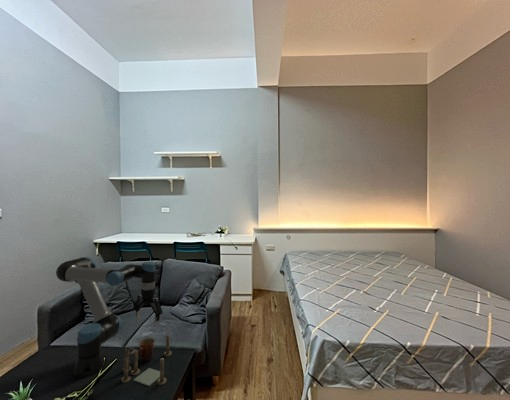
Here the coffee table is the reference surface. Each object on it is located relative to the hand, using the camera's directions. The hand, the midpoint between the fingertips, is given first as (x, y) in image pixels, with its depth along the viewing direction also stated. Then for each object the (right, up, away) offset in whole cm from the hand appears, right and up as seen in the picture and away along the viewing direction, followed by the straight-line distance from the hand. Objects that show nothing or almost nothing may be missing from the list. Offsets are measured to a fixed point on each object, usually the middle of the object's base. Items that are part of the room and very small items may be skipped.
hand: (147, 323), depth 160 cm
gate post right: (+15, -23, -18) cm, 32 cm away
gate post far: (+10, -23, +8) cm, 26 cm away
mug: (-2, -23, +1) cm, 23 cm away
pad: (+7, -23, -14) cm, 28 cm away
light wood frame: (-7, -23, -12) cm, 26 cm away
